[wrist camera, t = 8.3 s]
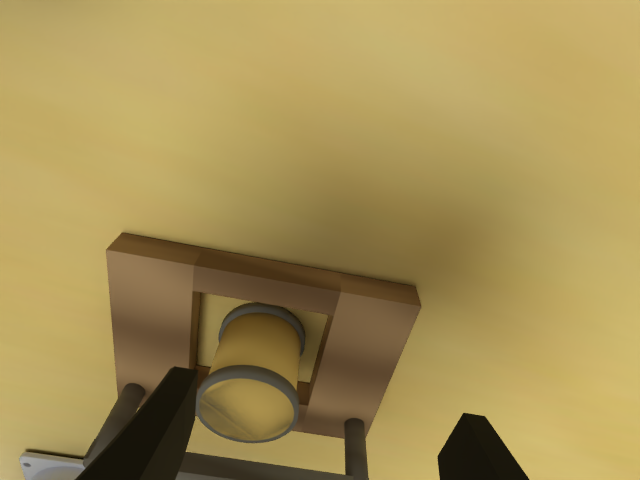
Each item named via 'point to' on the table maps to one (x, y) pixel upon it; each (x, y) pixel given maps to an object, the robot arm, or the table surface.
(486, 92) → the table surface
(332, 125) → the table surface
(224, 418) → the cord reel
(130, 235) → the brown piece
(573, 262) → the table surface
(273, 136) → the table surface
